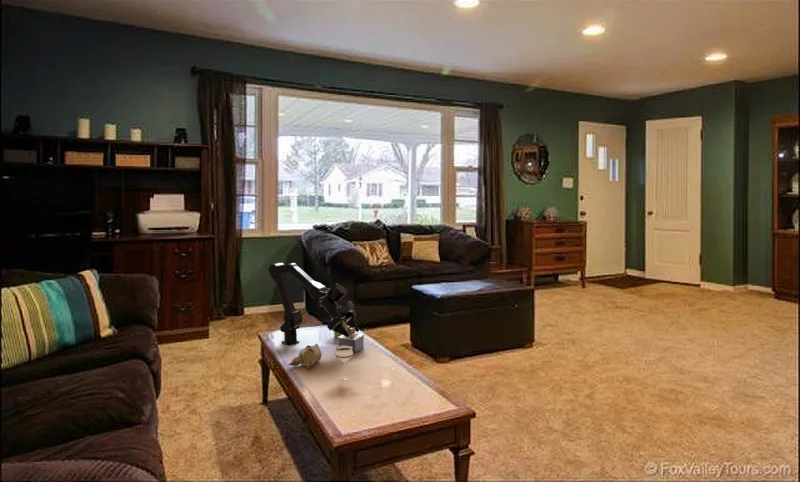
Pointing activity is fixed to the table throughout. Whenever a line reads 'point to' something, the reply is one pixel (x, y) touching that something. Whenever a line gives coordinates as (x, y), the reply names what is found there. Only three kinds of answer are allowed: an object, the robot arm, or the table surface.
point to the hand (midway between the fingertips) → (353, 333)
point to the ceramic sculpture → (308, 356)
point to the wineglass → (344, 357)
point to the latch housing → (353, 342)
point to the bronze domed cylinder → (351, 330)
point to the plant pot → (339, 333)
